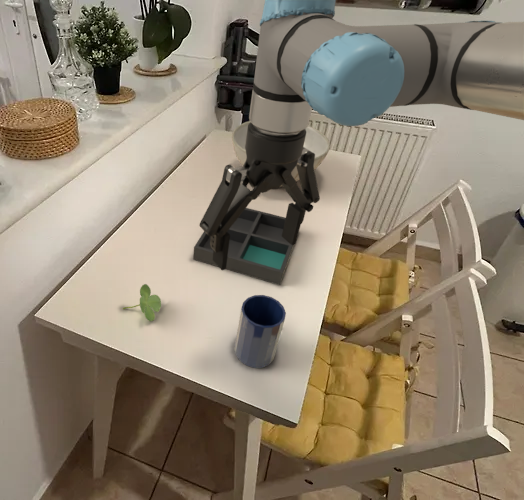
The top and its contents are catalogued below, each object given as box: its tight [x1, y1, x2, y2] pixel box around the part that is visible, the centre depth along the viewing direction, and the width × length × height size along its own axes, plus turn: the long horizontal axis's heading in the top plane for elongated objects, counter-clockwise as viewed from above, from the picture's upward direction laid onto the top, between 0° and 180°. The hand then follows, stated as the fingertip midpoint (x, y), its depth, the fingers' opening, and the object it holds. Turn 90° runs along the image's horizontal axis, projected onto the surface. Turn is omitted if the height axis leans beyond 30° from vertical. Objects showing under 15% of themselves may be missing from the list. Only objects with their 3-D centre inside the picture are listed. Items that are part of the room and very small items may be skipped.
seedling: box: [122, 283, 162, 322], centre depth 84 cm, size 7×8×7 cm
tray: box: [192, 207, 302, 286], centre depth 100 cm, size 20×20×4 cm
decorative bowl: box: [231, 120, 331, 188], centre depth 123 cm, size 27×27×12 cm
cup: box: [234, 294, 287, 369], centre depth 75 cm, size 7×7×11 cm
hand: (255, 252), depth 69 cm, fingers open, 13 cm apart
